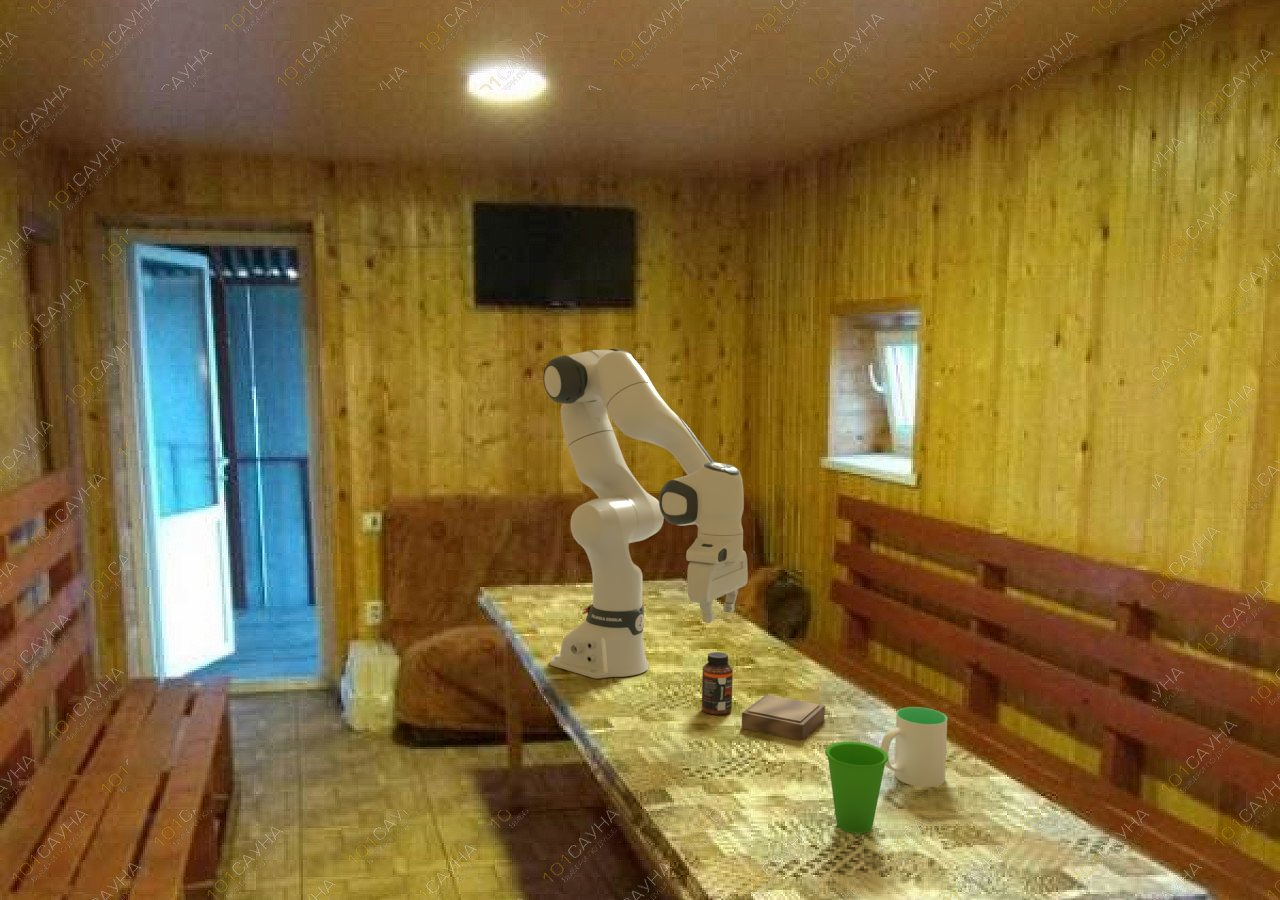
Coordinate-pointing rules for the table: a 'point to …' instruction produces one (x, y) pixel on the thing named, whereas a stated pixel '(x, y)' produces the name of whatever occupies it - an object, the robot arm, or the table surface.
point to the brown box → (783, 717)
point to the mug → (918, 746)
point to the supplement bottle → (717, 684)
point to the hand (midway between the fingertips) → (718, 616)
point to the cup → (855, 783)
